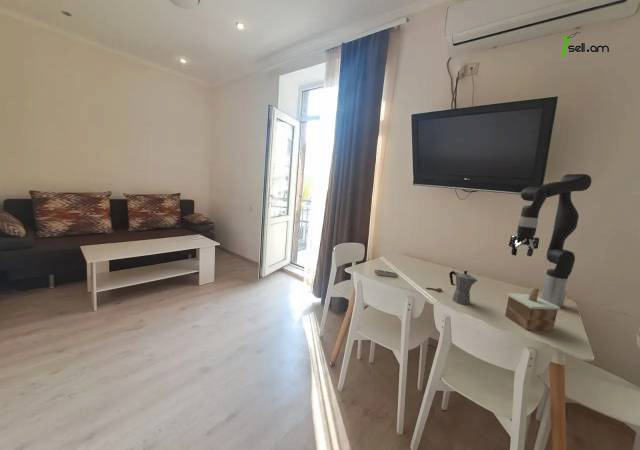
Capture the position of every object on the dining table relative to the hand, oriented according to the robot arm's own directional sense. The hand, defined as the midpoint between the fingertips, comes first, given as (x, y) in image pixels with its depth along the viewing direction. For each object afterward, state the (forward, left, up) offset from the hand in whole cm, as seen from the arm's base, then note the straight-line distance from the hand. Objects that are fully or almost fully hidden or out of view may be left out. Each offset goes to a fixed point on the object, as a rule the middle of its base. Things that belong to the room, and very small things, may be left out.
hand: (521, 255), depth 136 cm
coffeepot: (+25, -7, -30) cm, 40 cm away
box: (+4, +16, -30) cm, 34 cm away
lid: (+4, +16, -19) cm, 25 cm away
